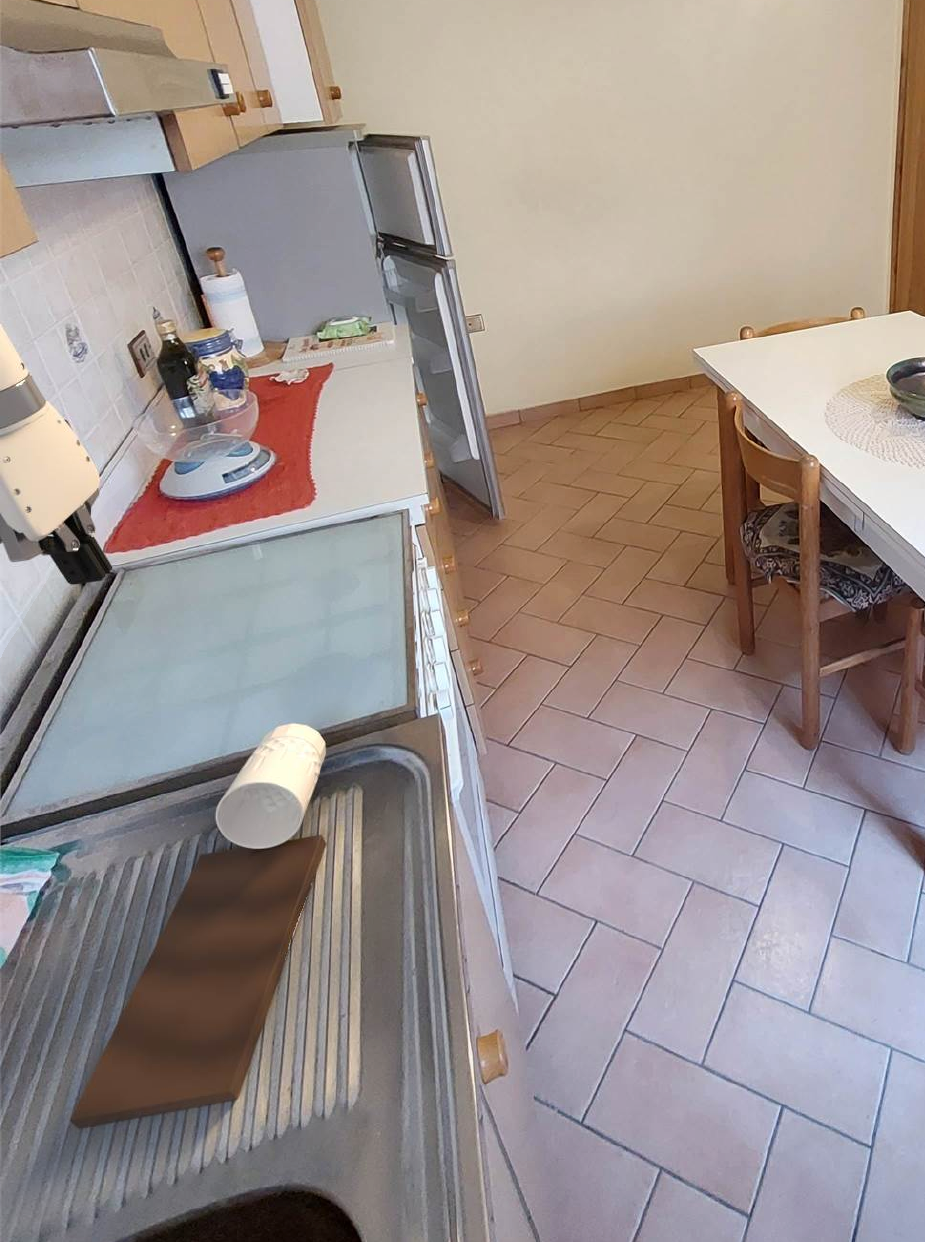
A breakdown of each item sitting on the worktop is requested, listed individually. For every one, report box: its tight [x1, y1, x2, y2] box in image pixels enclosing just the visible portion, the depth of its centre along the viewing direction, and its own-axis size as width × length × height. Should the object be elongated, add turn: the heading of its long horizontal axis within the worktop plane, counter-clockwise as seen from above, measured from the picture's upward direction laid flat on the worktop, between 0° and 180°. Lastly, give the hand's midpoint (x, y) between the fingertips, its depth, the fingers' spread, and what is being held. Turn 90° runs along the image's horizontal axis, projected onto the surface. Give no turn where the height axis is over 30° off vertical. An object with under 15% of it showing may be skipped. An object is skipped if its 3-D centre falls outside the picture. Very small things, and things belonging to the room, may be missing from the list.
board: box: [69, 834, 327, 1129], centre depth 68 cm, size 21×12×2 cm, turn 6°
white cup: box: [215, 722, 327, 849], centre depth 80 cm, size 8×8×10 cm
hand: (91, 576), depth 73 cm, fingers closed
